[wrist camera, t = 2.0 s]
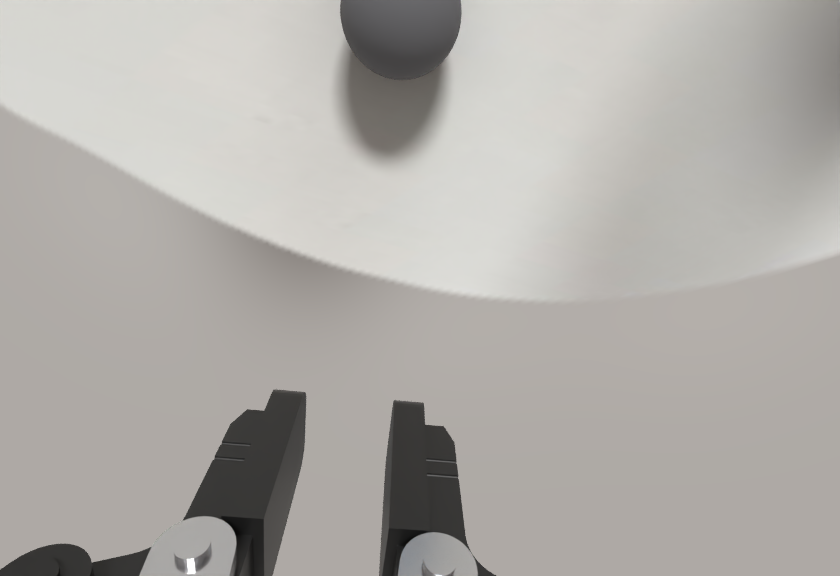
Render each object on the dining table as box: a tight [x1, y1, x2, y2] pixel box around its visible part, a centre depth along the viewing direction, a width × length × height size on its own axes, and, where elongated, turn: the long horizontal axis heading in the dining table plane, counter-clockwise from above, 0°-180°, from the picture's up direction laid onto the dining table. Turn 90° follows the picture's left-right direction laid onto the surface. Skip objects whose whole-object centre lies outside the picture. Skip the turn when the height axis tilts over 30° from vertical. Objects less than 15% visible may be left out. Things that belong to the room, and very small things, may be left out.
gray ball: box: [340, 0, 461, 80], centre depth 22 cm, size 6×6×6 cm
